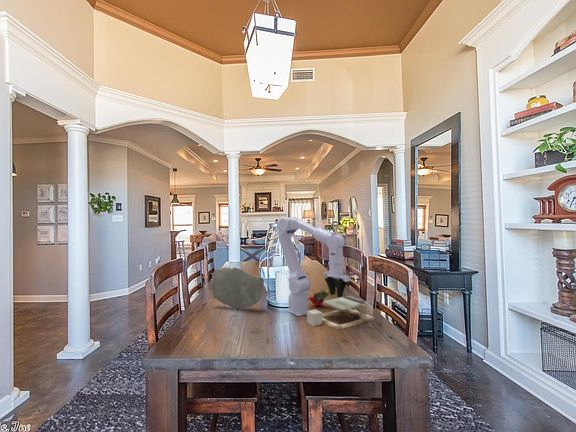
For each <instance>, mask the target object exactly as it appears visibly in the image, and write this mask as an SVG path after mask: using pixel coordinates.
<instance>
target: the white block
mask: <svg viewBox="0 0 576 432" xmlns="http://www.w3.org/2000/svg"><path fill="white" fill-rule="evenodd" d="M322 313H323V312H322V311H320V310H317V309H316V308H314V309H311V310H309V311H307V314H306V324H307V323H308V324H307V325H309V324H310V326H311V325H312V327H313V326H314V327H317V326H316V325H318V326H321V324H322V325H323V322H322V318H323V317H322Z"/></svg>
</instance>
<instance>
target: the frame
mask: <svg viewBox="0 0 576 432" xmlns="http://www.w3.org/2000/svg"><path fill="white" fill-rule="evenodd" d="M336 298H341V297H337V296H336ZM342 313H349V314H350V313H351V314H353V315H355V316H358V317H359V319H356V320H353V321H352V320H351V321H349V322H344V323H340V324H337V323H335V322H333V321H331V320H328V319H326V316H327V317H330V316H336V315H338V314H342ZM372 321H376V318H375V317H374V316H371V315H369V314H367V304H365V303H364V304H360V306H359V311H358V310H356V309H354V308H349V309H344V310H342V309H339V308H336V310H332V311H328V312H322V324H325V325H327V326H329V327H331V328H333V329H335V330H337V331H338V330H339V331H340V330H342V329H345V328H350V327H353V326H357V325H361V324H364V323H365V324H366V323H369V322H372Z"/></svg>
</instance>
